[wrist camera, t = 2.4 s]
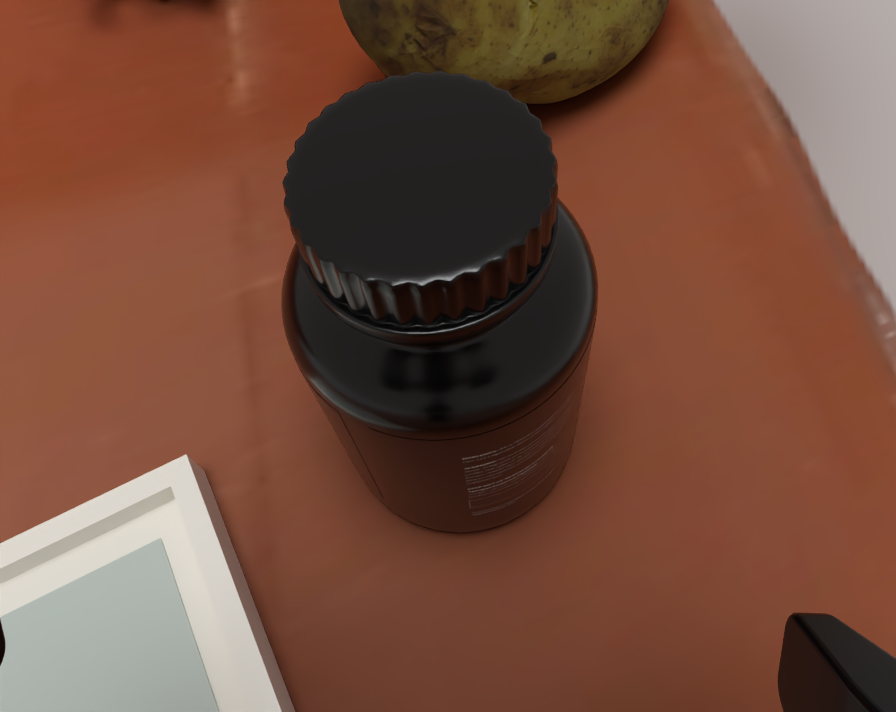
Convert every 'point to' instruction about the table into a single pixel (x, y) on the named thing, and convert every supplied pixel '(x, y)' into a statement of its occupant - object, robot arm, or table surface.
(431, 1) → the potato
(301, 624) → the table surface
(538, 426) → the supplement bottle
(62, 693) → the cream ceramic dish
